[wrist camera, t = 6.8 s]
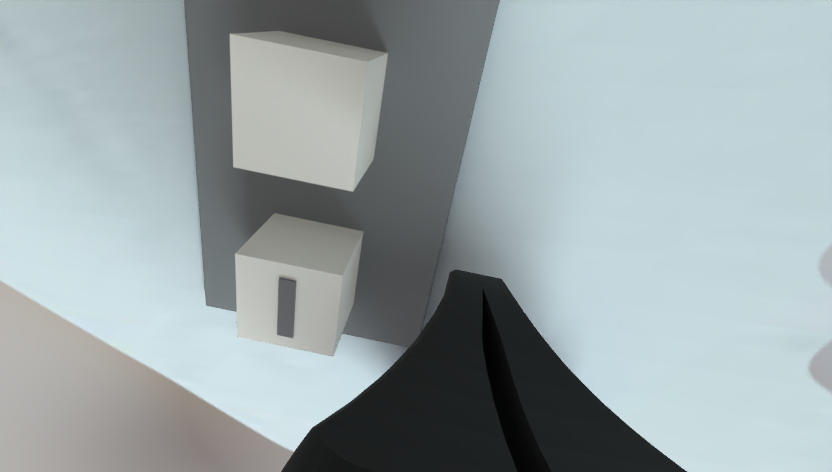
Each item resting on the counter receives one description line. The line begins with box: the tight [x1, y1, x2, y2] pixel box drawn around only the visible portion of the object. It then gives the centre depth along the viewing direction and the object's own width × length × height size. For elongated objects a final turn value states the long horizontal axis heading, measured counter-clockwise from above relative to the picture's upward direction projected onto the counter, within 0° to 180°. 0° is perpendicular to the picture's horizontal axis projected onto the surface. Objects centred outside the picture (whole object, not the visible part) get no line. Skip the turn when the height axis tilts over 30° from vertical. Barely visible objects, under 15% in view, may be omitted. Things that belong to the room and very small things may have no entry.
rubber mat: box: [184, 0, 499, 347], centre depth 18 cm, size 25×12×1 cm, turn 170°
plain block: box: [230, 31, 388, 192], centre depth 16 cm, size 4×4×4 cm
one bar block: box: [235, 213, 363, 356], centre depth 20 cm, size 4×4×4 cm
